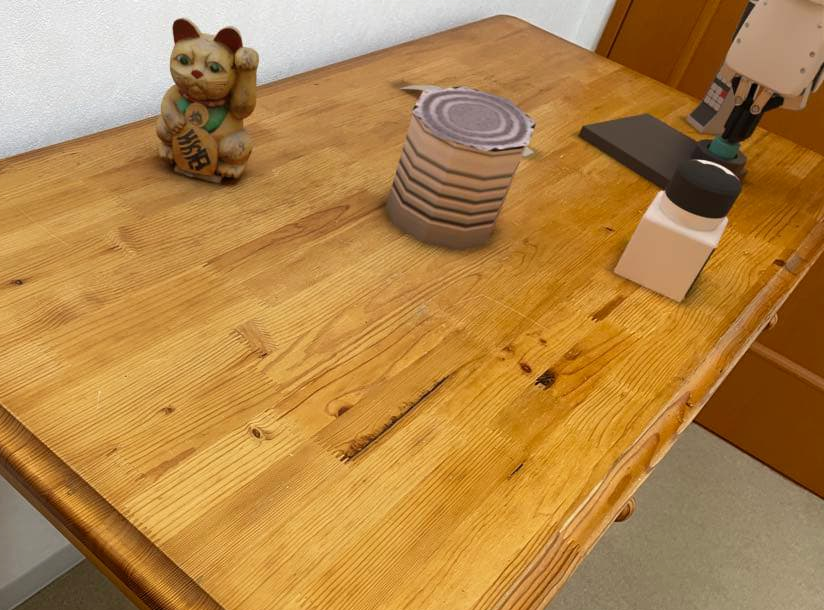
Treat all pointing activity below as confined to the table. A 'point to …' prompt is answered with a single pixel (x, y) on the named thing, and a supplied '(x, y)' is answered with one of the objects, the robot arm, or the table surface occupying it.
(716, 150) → the button
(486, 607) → the table surface
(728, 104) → the vintage mobile phone
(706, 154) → the scale
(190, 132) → the decorative figurine
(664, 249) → the medicine bottle
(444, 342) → the table surface
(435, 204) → the can
